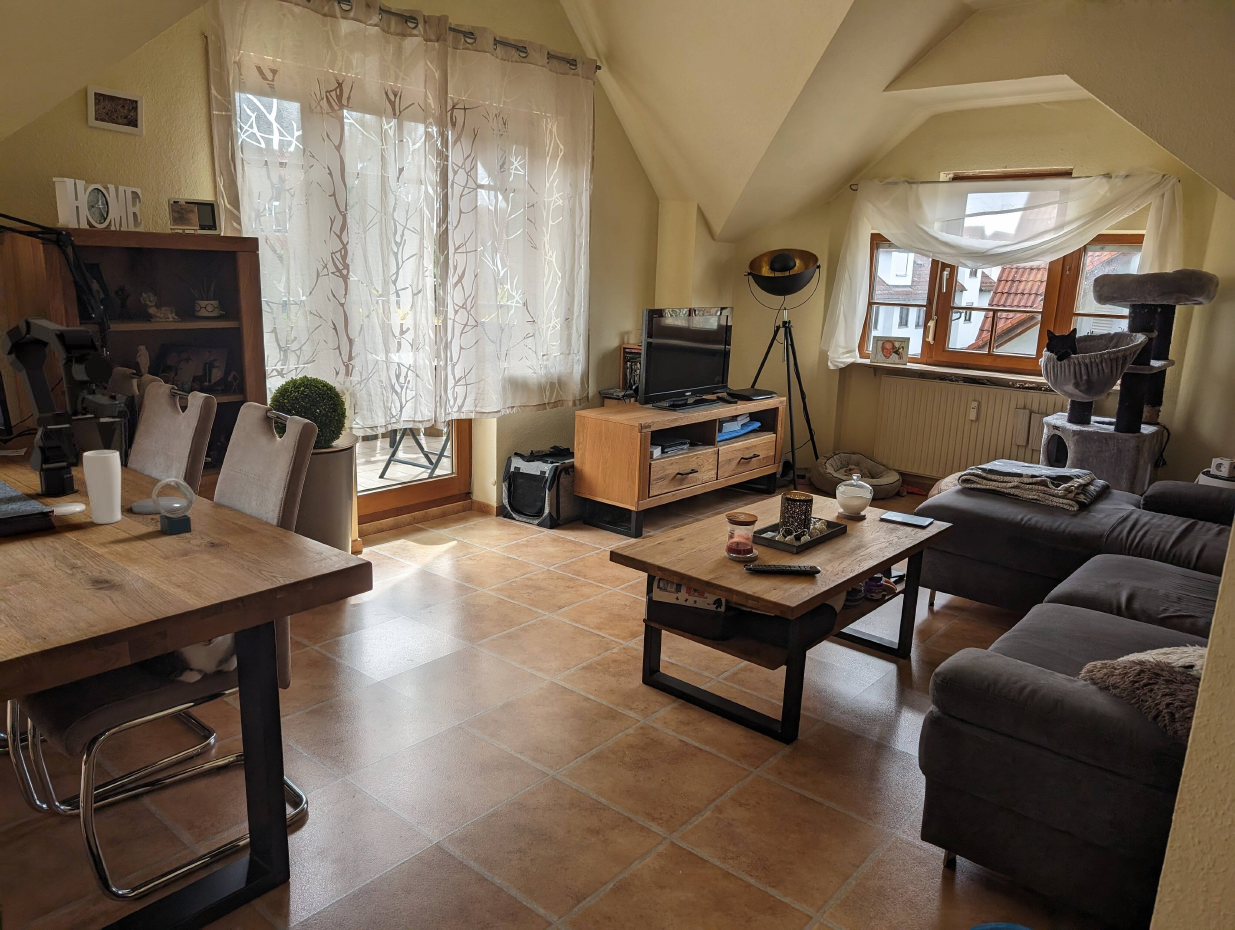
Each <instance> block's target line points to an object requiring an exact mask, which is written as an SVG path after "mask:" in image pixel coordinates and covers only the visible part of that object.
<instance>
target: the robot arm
mask: <svg viewBox="0 0 1235 930" xmlns="http://www.w3.org/2000/svg"><path fill="white" fill-rule="evenodd" d="M0 347H1V352H2V354H3V355H4V356H5V358H6V361H7V362H8V365H9V366H10V367H12V369H14V370H16V371H17V372H18V373H19V374H20V376H21V377H20V378H21V380H22V384H23V386H24V390H25V392H26V393H25V394H26V397H27V399H28V402H29V406H30V408H31V412H32V415H33V418H34V421H35V425H36V428H37V433H36V436H35V438H34V441H33V446H34V449H33V451H32V453H31V456H30V459H29V465H30V469H31V470H32V471H35V472H37V473H38V474H39V483H40V491H37V492H35V495H36V496H45V497H52V498H53V497H54V498H55V497H56V498H59V497H63V496H67V495H70V494H74V493H77V492H80V489H79V488H75V482H74V481H75V480H74V475H73V471H72V468H78V467H79V463H80V452H81V448H80V446H79V443H78V442H77V441H76V438H75V436H74V431H73V430H74V429H75V425H71V423H72V422H82V421H89V420H98V421H95V424H96V427H97V431H98V434H99V436H100V440H101V444H102V447H103V450H112V446H113V443H114V439H115V438H114V437H115V434H116V430H117V429H118V427H119V426H120V425H121V424H122V423H125V421H126V419H129V418H130V414H129V410H128V408H127V407H126V406H125V401H124V397H123V395H122V394H120V393H111V394H110V395H109V396H104V395H102V391H101V389H100V388H96V387H95V385H96V384H104V383H106V382H108V381H110V379H111V378H112V376H113V373H114V372H113V371H114V369H113V366H112V365H111V363H110V361H109V360H108V359H106V358H104V354H103V352H102V351H103V349H102V348H101V346H100V344H99V343H98V342H97V340H96V338H95V337H94V334H92V332H91V331H90V330H89V329H88V328H87V327H66V326H63V325H61V324H57V323H55V322H52V321H50V320H48V319H47V318H44V317H24V318H20V319H19V322H18V324H16V325H15V326H14V327H12V328H10V329H8V330H7V331H6V332H5V334H4V336H3V338H2V340H1V345H0ZM49 348H50V349H51V351H53V352H55V353H56V354H57V355H58V356H59V358H60V360H59V361H58V363H57V365H58V366H59V367H60V368H61V374H62V375H61V376H62V381H63V387H64V390H61V391H60V394H61V396H65V399H66V406H67V409H65V408H64V409H63V411H58V410H57V407H56V404H55V401H54V398H53V394H52V391H51V388H50V384H49V382H48V378H47V376H46V372H45V369H44V368H45V363H46V361H47V359H48V350H49Z"/></svg>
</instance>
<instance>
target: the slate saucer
mask: <svg viewBox="0 0 1235 930" xmlns="http://www.w3.org/2000/svg"><path fill="white" fill-rule="evenodd" d="M157 498H158V501H159V503H160V505H161V506H162V508H163V509H164V510H166V512H167V513H168V514H170V513H175V512H178V511H183V510H184V509H185V508H187V507H186V506H187V505H188V503H187V498H185V497H184V498H183V497H177V496H157ZM131 509H132V512H133V513H136V514H141V515H158V514H159V515H162V513H160V512H159V511H158V509H157V508H156V507H155V505H154V504H153V502H152V497H150V498H145V499H139V500H137V501H134V502H132V504H131Z"/></svg>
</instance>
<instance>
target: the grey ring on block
mask: <svg viewBox="0 0 1235 930" xmlns="http://www.w3.org/2000/svg"><path fill="white" fill-rule="evenodd" d="M169 483H174V485H175V486H176V487H175V488H176V489H177V490H178V491H179V492H180V494H182V495H183V496H184V498H185V499H186V501H188V503H187V506H186V508H184V509H182V510H180V511H179V512H178V511H176V512H169V513H167V512H166V510H164V509H163V508H162V506H161V505H160V503H159V501H158V498H157V497H158V496H157V494H158V492H159V490H160V489H161V487H163V486H165V485H166V484H169ZM151 498H152V502H153V504H154V505H155V507H156V508H157V509H158V511H159V512H160V513H161V514H159V524H160V525H159V526H160V527H159V528H160V530H161V531H162V532H163V533H164V534H166V535H167V536H174V535H179V534H187V533H192V520H191V516H189V515H187V514H188V513H190V512H191V510H192V509H193V508H194V505H195V503H196V500H195V499H196V494H195V493H194V491H193V489H192V488H191V486H189V485H188V484H187V483H186V481H185V480H183V479H182V478H179V479H177V478H175V477H171V478H170V477H168V478H164V479H162V480H161V481H159V482H158V483H156V485H155V486H154V488H153V489H152V492H151Z"/></svg>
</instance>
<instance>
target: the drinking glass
mask: <svg viewBox="0 0 1235 930" xmlns="http://www.w3.org/2000/svg"><path fill="white" fill-rule="evenodd" d="M121 465H122V464H121V458H120V451H118V450H116V449H115V450H114V449H111V450H105V449H98V450H91V451H86V452H83V453H82V467H83V476H84V480H85V486H86V490H87V494H88V500H89V504H90V511H91V518H92V522H93V523H95V524H97V525H98V524H99V525H106V524H107V525H109V524H116V523H117V522H119V521H121V519H122V510H121V509H122V507H121V506H122V504H121V503H122V501H121V500H122V498H121V497H122V468H121V467H122V466H121Z"/></svg>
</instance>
